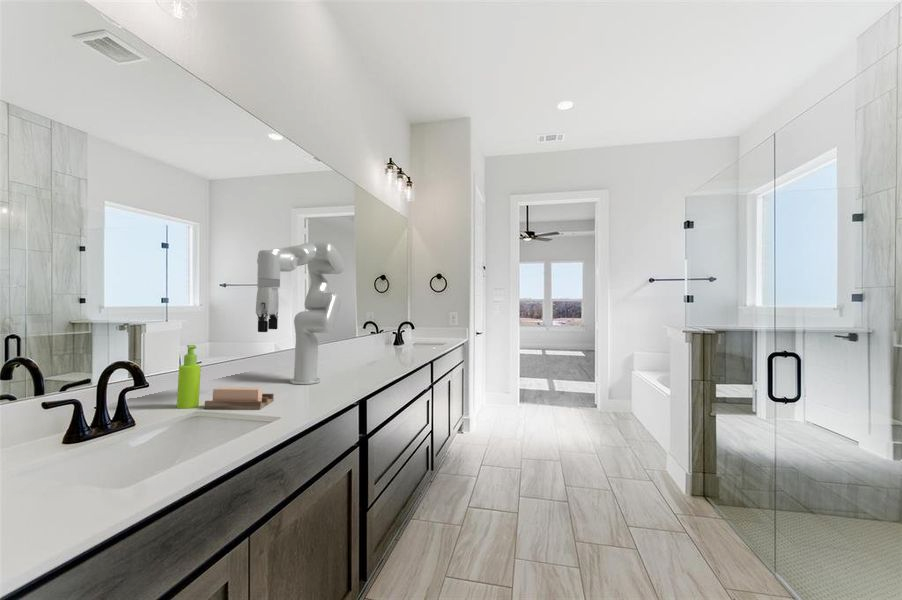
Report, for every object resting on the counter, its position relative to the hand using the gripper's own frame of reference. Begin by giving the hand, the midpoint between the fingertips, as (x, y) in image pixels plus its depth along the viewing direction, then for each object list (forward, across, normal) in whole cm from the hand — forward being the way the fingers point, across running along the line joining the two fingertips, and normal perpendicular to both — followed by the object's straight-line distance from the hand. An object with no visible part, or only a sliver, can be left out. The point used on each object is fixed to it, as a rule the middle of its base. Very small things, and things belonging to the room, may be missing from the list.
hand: (267, 330), depth 141 cm
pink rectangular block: (+23, +15, -4) cm, 27 cm away
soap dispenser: (+24, +15, -19) cm, 34 cm away
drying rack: (+24, +12, -4) cm, 27 cm away
